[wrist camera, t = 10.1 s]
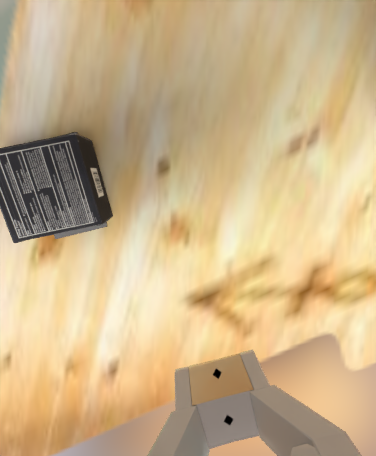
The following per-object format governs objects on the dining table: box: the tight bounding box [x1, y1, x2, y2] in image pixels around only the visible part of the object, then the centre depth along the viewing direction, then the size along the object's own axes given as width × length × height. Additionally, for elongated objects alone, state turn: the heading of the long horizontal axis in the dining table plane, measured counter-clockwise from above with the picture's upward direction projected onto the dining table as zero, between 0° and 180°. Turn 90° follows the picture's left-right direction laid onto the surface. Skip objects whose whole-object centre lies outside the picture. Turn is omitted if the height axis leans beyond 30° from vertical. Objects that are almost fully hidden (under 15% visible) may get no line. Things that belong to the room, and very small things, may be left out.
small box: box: [0, 132, 113, 243], centre depth 30 cm, size 11×6×10 cm
